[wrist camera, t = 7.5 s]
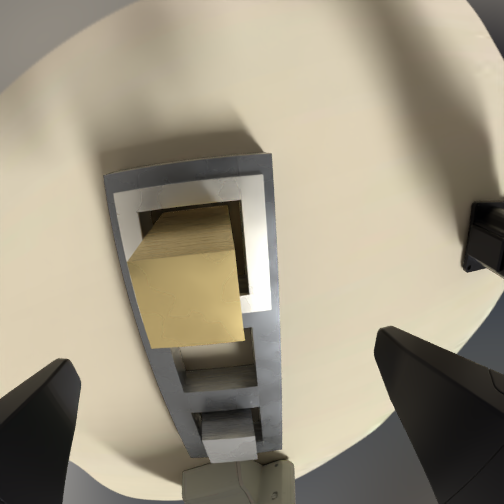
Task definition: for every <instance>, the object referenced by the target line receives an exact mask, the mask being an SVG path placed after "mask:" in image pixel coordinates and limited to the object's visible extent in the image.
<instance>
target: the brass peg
mask: <svg viewBox="0 0 504 504" xmlns="http://www.w3.org/2000/svg"><path fill="white" fill-rule="evenodd" d="M127 265H128V269H129V273H130V277H131V281H132V285H133V289H134V292H135V296H136V300H137V303H138V307H139V310H140V314H141V317H142V320H143V324H144V327H145V330H146V333H147V336H148V339H149V343H150V346H151V349H154V348H171V347H185V346H197V345H208V344H218V343H228V342H237V341H245V338H244V329H243V320H242V312H241V303H240V294H239V285H238V276H237V266H236V257H235V248H234V242H233V236H232V230H231V223H230V217H229V210H228V205H222V206H213V207H205V208H196V209H188V210H180V211H172V212H165V213H163V214H162V215H161V216H160V218H159V219H158V220H157V222H156V223H155V224H154V226H153V227H152V228H151V230H150V231H149V232H148V234H147V235H146V236H145V238H144V239H143V240H142V242H141V243H140V245H139V246H138V247H137V249H136V250H135V251H134V253H133V254H132V256H131V257H130V258H129V260H128V261H127Z"/></svg>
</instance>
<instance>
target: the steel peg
mask: <svg viewBox="0 0 504 504" xmlns="http://www.w3.org/2000/svg"><path fill="white" fill-rule="evenodd" d="M202 442H203V444H204V447H205V449H206V452H207V455H208V457H209V460H210V462H211V463H223V462H235V461H246V460H255V459H258V457H257V449H256V441H255V433H254V427H253V420H252V414H251V408H244V409H235V410H224V411H211V412H202Z"/></svg>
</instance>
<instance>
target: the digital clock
mask: <svg viewBox="0 0 504 504" xmlns="http://www.w3.org/2000/svg"><path fill="white" fill-rule="evenodd" d="M237 469H238V470H237ZM182 498H183V501H184V502H185V504H295V476H294V464H293V463H292V462H290V461H288V460H279V461H276V462H273V463H270V464H267V465H265V466H263V465H261V464H259V463H257V462H255V461H254V460H246V461H235V462H223V463H210V464H207V465H203V466H200V467H197V468H193V469H190V470H186V471H183V473H182Z"/></svg>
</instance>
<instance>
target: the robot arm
mask: <svg viewBox="0 0 504 504" xmlns="http://www.w3.org/2000/svg"><path fill="white" fill-rule="evenodd" d="M484 268H487V269H489V270H491V271H492V272H494V273H495V274H497V275H499V276H500V277H502V278H503V279H504V201H475V202H474V203H473V205H472V211H471V220H470V228H469V235H468V242H467V248H466V254H465V260H464V265H463V270H464V271H465V272H467V273H468V272H472V271H477V270H480V269H484ZM374 357H375V360H376V363H377V365H378V368H379V371H380V373H381V376H382V379H383V381H384V384H385V387H386V389H387V392H388V395H389V397H390V400H391V402H392V404H393V406H394V408H395V410H396V412H397V414H398V416H399V418H400V420H401V422H402V424H403V426H404V428H405V430H406V432H407V434H408V437H409V439H410V441H411V443H412V445H413V447H414V449H415V451H416V454H417V456H418V458H419V460H420V462H421V465H422V467H423V469H424V471H425V474H426V476H427V478H428V480H429V482H430V485H431V487H432V490H433V492H434V494H435V497H436V499H437V502H438V504H504V375H503V374H501V373H499V372H496V371H494V370H491V369H489V370H488V368H487V367H485V366H482V365H480V364H478V363H475V362H473V361H471V360H469V359H466V358H464V357H462V356H459V355H457V354H455V353H453V352H450V351H448V350H446V349H443V348H441V347H439V346H437V345H434V344H432V343H430V342H428V341H425V340H423V339H421V338H419V337H416V336H414V335H412V334H410V333H407V332H405V331H403V330H401V329H398V328H396V327H394V326H387V327H383V328H380V329H379V330H378V332H377V337H376V342H375V348H374ZM80 390H81V380H80V378H79V376H78V374H77V372H76V370H75V368H74V366H73V364H72V362H71V361H70V360H69V359H63V358H58V359H56V360H54V361H53V362H51V363H50V364H49V365H47V366H46V367H44V368H43V369H41V370H40V371H39V372H37V373H36V374H34V375H33V376H31V377H30V378H29V379H27V380H26V381H24V382H23V383H22V384H20V385H19V386H17V387H16V388H14V389H13V390H12V391H10V392H9V393H7V394H6V395H5V396H3V397H2V398H1V399H0V504H62V502H63V493H64V486H65V480H66V473H67V467H68V461H69V456H70V451H71V446H72V441H73V436H74V431H75V426H76V419H77V411H78V403H79V397H80Z"/></svg>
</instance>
